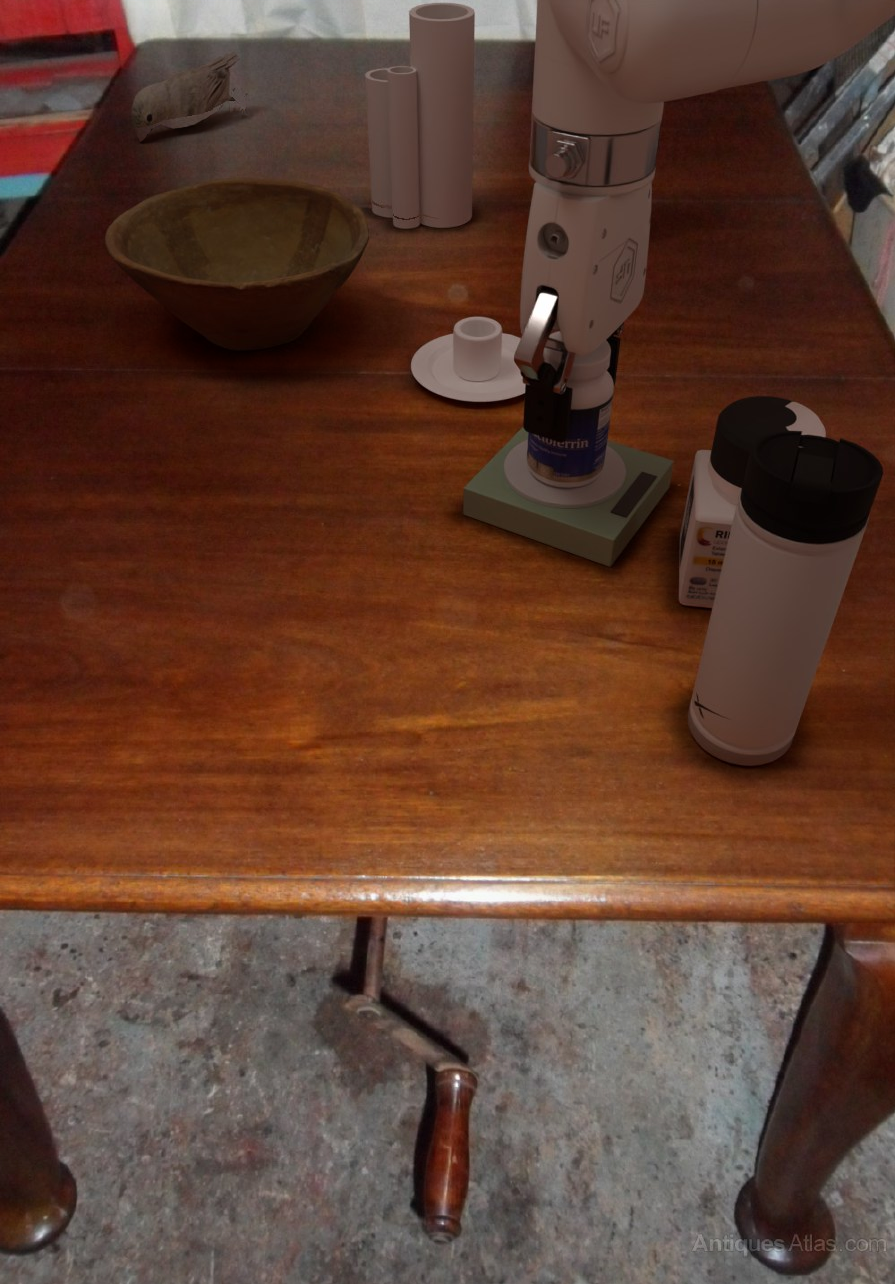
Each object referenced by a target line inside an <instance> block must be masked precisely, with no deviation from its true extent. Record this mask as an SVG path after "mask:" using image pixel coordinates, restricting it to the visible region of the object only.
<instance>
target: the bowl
mask: <svg viewBox="0 0 895 1284" xmlns="http://www.w3.org/2000/svg"><path fill="white" fill-rule="evenodd" d="M367 221H368V220H367V218H366V215H365V213H364V212H363V210H362V209H361V208H360V207H359V206H358V205H356V204H355V203H354V202H352V201H351V200H350V199H349V198H348V197H346V196H345V195H344V194H341V193H339V192H336V191H333V190H332V189H329V188H326V187H323V186H319V185H316V184H311V183H307V182H303V181H298V180H290V179H277V178H275V179H274V178H255V177H254V178H252V177H226V178H220V179H213V180H211V179H210V180H205V181H200V182H197V183H193V184H190V185H187V186H183V187H179V188H175V189H172V190H168V191H165V192H161V193H158V194H156V195H152V196H150V197H148V198H147V199H144V200H142V201H140V202H139V203H138V204H136V205H134V206H133V207H131V208H129V209H128V210H125V212H123V213H122V214H120V215H118V216H117V217H116V218H115V219H114V220H113V222H112V223H111V224H110V225H109V226H108V228H107V229H106V232H105V237H104V245H105V248H106V250H107V252H108V254H109V256H110V258H111V259H112V260H113V262H114V263H115V264H116V265H117V266H118V267H119V268H120V269H121V270H122V271H123V272H124V273H125V274H126V275H127V276H128V277H129V278H131V279H132V280H133V281H134V282H135V283H136V284H137V285H138V286H140V287H141V288H142V290H144V291H145V292H147V293H148V294H149V295H150V296H151V297H153V298H154V299H155V300H156V301H157V302H158V303H159V304H160V305H161V306H162V307H163V308H165V309H166V310H167V311H168V312H169V313H171V314H172V315H173V316H174V317H176V318H177V319H178V320H180V321H181V322H182V323H184V324H186V325H187V326H188V327H190V328H191V329H192V330H194V331H195V332H197V333H198V334H200V335H201V336H203V337H204V338H205V339H206V340H207V341H209V342H210V343H212V344H214V345H215V346H217V347H220V348H223V349H226V350H231V351H239V352H241V351H242V352H243V351H244V352H245V351H255V350H265V349H269V348H274V347H279V346H281V345H285V344H288V343H291V342H294V341H295V340H297V339H298V338H300V336H302V334H303V333H305V331H306V330H307V329H308V328H309V327H310V325H311V324H312V323H313V321H314V320H315V319H316V318H317V317H318V315H319V314H320V313H321V312H322V311H323V309H324V308H325V307H326V305H327V304H329V302H330V301H331V300H332V298H333V297H334V296H335V294H336V293H337V291H338V290H339V289H340V288H341V287H342V286H343V285H344V284H345V282H346V281H347V280H348V279H349V277H350V276H351V275H352V273H353V272H354V270H355V268H356V267H357V265H358V264H359V262H360V261H361V258H362V256H363V254H364V252H365V249H366V247H367V245H368V243H369V240H370V230H369V225H368V222H367Z"/></svg>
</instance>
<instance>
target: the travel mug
mask: <svg viewBox="0 0 895 1284" xmlns="http://www.w3.org/2000/svg"><path fill="white" fill-rule="evenodd" d="M801 434H802V431H779V432H774V433H770V434H767V435H765V436H763V437H761V438H759V439H758V440H757V441H756V442H754V444H753V446H752V447H751V451H750V455H749V459H748V464H747V468H746V472H745V479H744V482H743V485H742V488H741V490H740V493H739V497H738V504H737V506H736V510H735V514H734V519H733V523H732V527H731V531H730V536H729V540H728V544H727V548H726V553H725V557H724V561H723V566H722V570H721V574H720V578H719V583H718V587H717V591H716V596H715V600H714V604H713V608H711V613H710V618H709V621H708V626H707V630H706V634H705V639H704V643H703V647H702V651H701V657H700V660H699V664H698V669H697V673H696V678H695V680H694V681H695V682H694V686H693V690H692V696H691V699H690V702H689V707H688V711H687V726H688V729H689V731H690V734H691V736H692V737H693V739H694V740H695V742H696V743H697V744H698V745H699V746H700V747H701V748H702V749H703V750H704V751H705V752H706V753H709V754H710V755H711V756H713V757H715V758H717V759H719V760H721V761H724V762H726V763H728V764H733V765H738V766H747V767H749V766H750V767H753V766H762V765H765V764H769V763H772V762H775V761H776V760H778V759H780V758H781V757H782V756H783V755H785V754H787V752H788V751H789V749H790V748H791V746H792V743H793V740H794V737H795V735H796V731H797V728H798V726H799V722H800V720H801V717H802V714H803V711H804V708H805V706H806V703H807V700H808V697H809V694H810V691H811V688H812V686H813V682H814V679H815V677H816V673H817V671H818V668H819V665H820V662H821V659H822V657H823V654H824V650H825V648H826V644H827V642H828V640H829V636H830V633H831V630H832V628H833V624H834V621H835V620H836V619H835V618H836V616H837V613H838V610H839V608H840V604H841V601H842V598H843V595H844V593H845V590H846V587H847V584H848V581H849V578H850V575H851V572H852V570H853V567H854V564H855V560H856V558H857V555H858V552H859V549H860V546H861V543H862V541H863V538H864V535H865V531H866V529H867V526H868V523H869V520H870V515H871V510H872V508H873V506H874V502H875V499H876V497H877V493H878V491H879V487H880V485H881V481H882V479H883V476H884V468H883V465H882V464H881V462H880V460H879V459H878V458H877V457H876V456H875V455H874V454H873V453H872V452H871V451H869V450H868V449H867V448H865V447H863V446H861V445H860V444H857V443H855V442H852V441H850V440H847V439H844V438H841V437H840V438H839V440H836V439H834V438H829V437H827V436H825V437H821V436H815V435H801Z"/></svg>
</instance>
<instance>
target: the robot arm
mask: <svg viewBox="0 0 895 1284" xmlns="http://www.w3.org/2000/svg"><path fill="white" fill-rule="evenodd" d="M894 16H895V0H536V16H535V17H536V20H535V41H534V45H535V46H534V59H533V60H534V62H533V82H532V101H531V102H532V103H531V117H530V136H529V137H530V138H529V139H530V140H529V160H528V173H529V176H530V178H532V179H533V181H534V182H535V183H534V184H533V190H532V195H531V200H530V201H531V203H530V208H529V213H528V214H529V215H528V222H527V229H526V235H525V245H524V251H523V252H524V253H523V262H522V271H521V283H520V301H519V303H520V304H519V325H520V326H519V327H520V332H521V337H520V338H521V340H520V342H519V344H518V347H517V349H516V352H515V355H514V362H515V364H516V365H517V367H518V368H519V370H520V373H521V376H522V377H523V383H524V384H525V393H524V401H523V402H524V405H523V420H522V422H523V423H522V427H523V428H524V430H525V431H526V432H529V433H532V434H535V435H538V436H541V437H544V438H547V439H551V440H554V441H557V442H561V443H562V442H564V441H565V440H566V439H567V438H568V436H569V425H570V414H571V403H572V392H573V389H572V388H569V387H567V385H568V381H569V377H570V374H571V370H572V366H573V363H574V359H575V355H576V354H577V355H578V356H586V355H588V354H590V353H592V352H593V351H595V350H596V349H597V348H598V347H599V346H600V345H601V344H602V343H603V342H604V341H605V340H606V341H607V342H608V343H609V345H610V348H611V355H610V365H609V368H608V369H607V371H608V372H609V374H610V375H611V377H612V379H613V383H614V387H615V386H616V383H617V381H616V380H617V373H618V364H619V355H620V350H621V349H620V348H621V337H618V336H620V335H621V334H622V333H623V330H624V327H625V321H626V320H627V319H628V318H629V317H630V316H631V315H632V314H633V312H635V311H636V309H637V308H638V306H639V305H640V304H641V301H642V300H643V297H644V294H645V287H646V286H645V284H646V276H647V267H648V256H649V255H648V254H649V243H650V234H651V233H650V231H651V220H652V219H651V218H652V199H653V191H652V190H653V181H654V179H655V176H656V168H657V161H658V153H659V152H658V150H659V145H660V137H661V130H662V123H663V113H664V107H665V102H671V101H676V100H682V99H686V98H690V97H696V96H701V95H707V94H711V93H714V92H717V91H720V90H724V89H729V88H735V87H740V86H744V85H752V84H756V83H761V82H762V83H763V82H768V81H773V80H774V81H775V80H780V79H784V78H785V79H786V78H789V77H794V76H798V75H800V74H804V73H807V72H809V71H812V70H815V69H817V68H819V67H822V66H823V65H825V64H827V63H829V62H830V61H832V60H834V59H836V58H838V57H839V56H841V55H842V54H845V52H847V51H849V50H850V49H852V48H853V47H855V45H857V44H858V43H860V42H861V41H863V40H864V39H865V38H866V37H868V36H869V35H870V34H872V33H873V32H874V31H876V30H877V29H878V28H879V27H881V26H882V25H884V24H885V23H886V22H887V21H889V20H890V19H891V18H892V17H894ZM553 330H556V331H560V332H561V336H562V339H563V341H560V340H556V339H553V338H549V336H550V335H551V334H552V331H553ZM544 348H548V349H552V350H555V351H559V352H562V354H561V358H560V361H559V365H558V369H557V371H556V370H555V369H554V367H553V366H552V365H551V364H549V363H546V362H545V361H544V360H545V358H544Z"/></svg>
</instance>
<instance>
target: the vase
mask: <svg viewBox="0 0 895 1284" xmlns="http://www.w3.org/2000/svg"><path fill="white" fill-rule="evenodd" d="M475 14H476V12H475V9H474V8H472V7H471V6H468V5H465V4H461V3H455V2H431V3H424V4H419V5H416V6H414V7H412V8H410V10H408V15H409V16H408V17H409V19H408V22H409V23H408V25H409V60H410V62H409V63H410V66H408V65H397V66H396V65H395V66H391V67H383V68H376V69H372V70H369V71H367V72H366V73H364V80H365V81H364V83H365V84H364V85H365V99H366V100H365V102H366V119H367V140H368V157H369V178H370V198H372V199H371V201H372V200H373V201H374V202H375V203H377V204H379V205H389V206H391V205H392V209H387V208H381V207H378V206H376V205H374V204H373V203H372V202H371V212H372V213H373V214H374V215H376V216H378V217H383V218H388V219H389V218H390V219H392V225H393V226H394V227H395V228H398V229H403V230H406V229H407V230H409V229H414V228H418V227H420V225H423V226H425V227H430V228H438V229H447V228H448V229H450V228H455V227H459V226H462V225H464V224H466V223H468V222H470V221H471V219H472V217H473V173H474V172H473V170H474V169H473V167H474V101H475V100H474V99H475V97H474V94H475V30H476V29H475V27H476V26H475V25H476V23H475V22H476V21H475V19H476V15H475ZM419 213H422V214H425V215H428V216H431V217H435V218H439V219H434V218H429V217H425V216H422V215H420V216H419V217H417V216H418V215H419ZM393 214H394V216H397V217H399V218H404V219H409V218H413V217H417V218H415V219H410V220H402V219H397V218H395V217H394V216H393Z"/></svg>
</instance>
